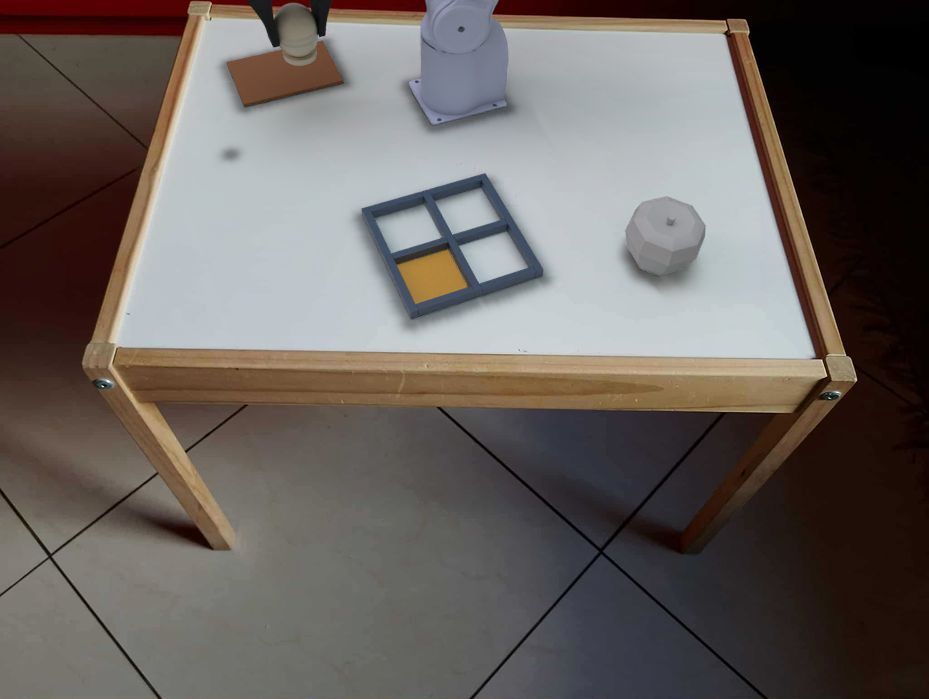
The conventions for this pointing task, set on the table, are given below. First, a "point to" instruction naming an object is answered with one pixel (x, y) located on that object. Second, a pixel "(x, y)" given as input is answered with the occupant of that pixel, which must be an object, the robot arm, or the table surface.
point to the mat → (281, 76)
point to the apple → (664, 235)
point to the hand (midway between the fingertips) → (296, 36)
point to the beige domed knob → (297, 34)
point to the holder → (446, 252)
